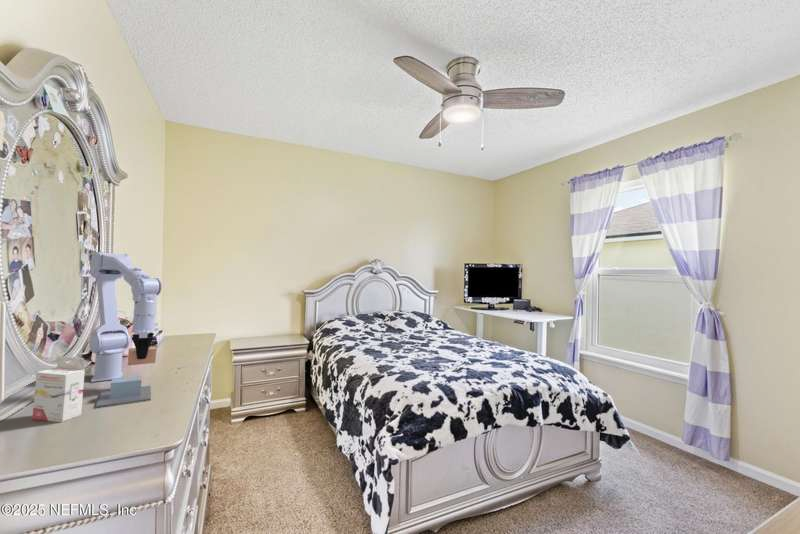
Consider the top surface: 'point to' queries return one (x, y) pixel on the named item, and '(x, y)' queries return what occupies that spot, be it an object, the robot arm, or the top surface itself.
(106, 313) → the robot arm
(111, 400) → the baseplate
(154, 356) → the upper brick
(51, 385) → the ink cartridge box
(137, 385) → the lower brick
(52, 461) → the top surface
